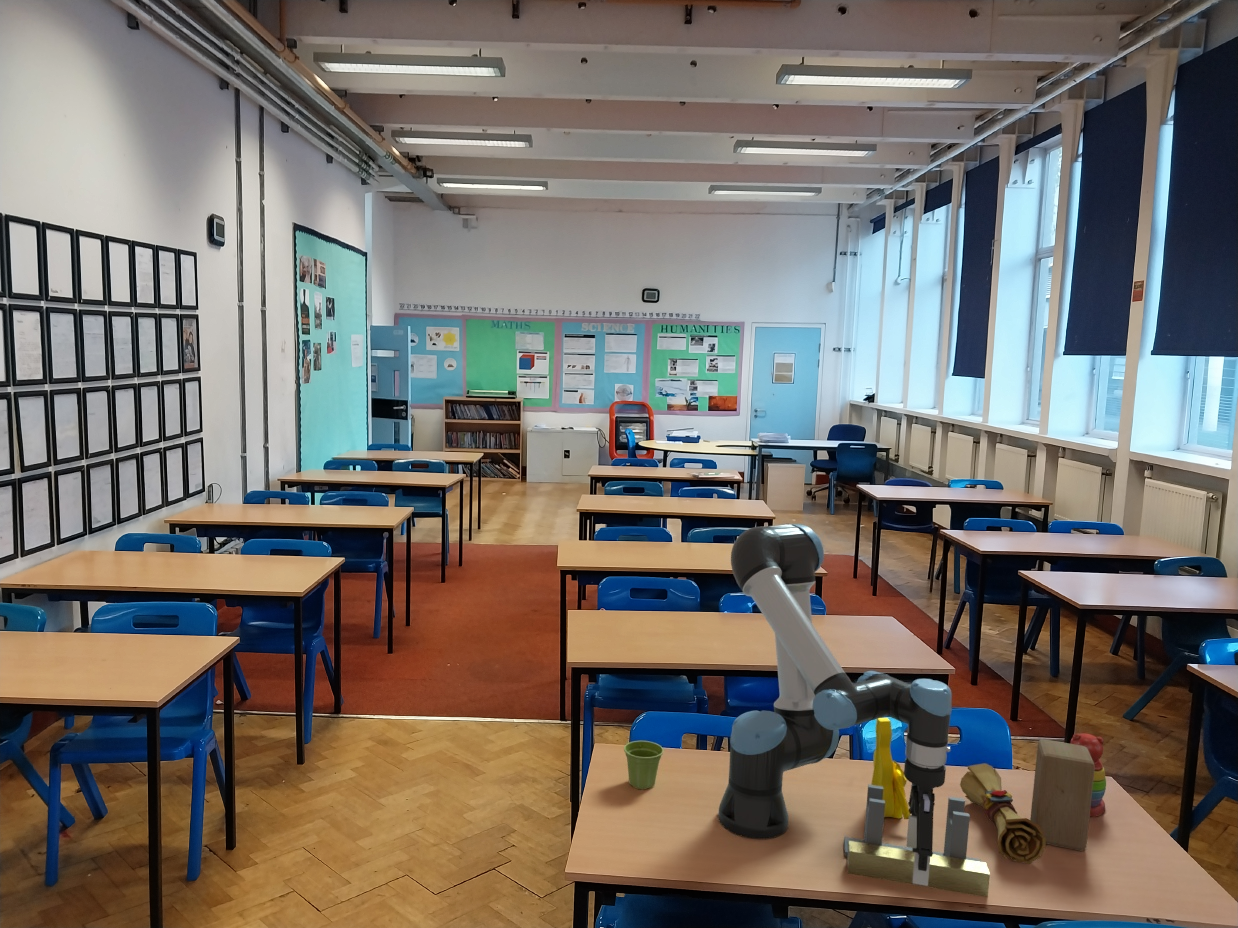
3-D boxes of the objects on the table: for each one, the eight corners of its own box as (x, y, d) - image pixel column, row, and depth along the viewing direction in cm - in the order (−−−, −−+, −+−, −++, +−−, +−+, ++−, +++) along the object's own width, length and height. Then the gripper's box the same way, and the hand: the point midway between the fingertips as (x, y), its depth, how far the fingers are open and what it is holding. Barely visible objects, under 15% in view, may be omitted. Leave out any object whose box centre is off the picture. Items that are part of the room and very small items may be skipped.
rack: (844, 857, 174) (849, 797, 173) (844, 839, 181) (848, 781, 180) (985, 882, 168) (991, 819, 167) (979, 861, 175) (985, 801, 174)
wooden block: (1034, 842, 183) (1043, 754, 181) (1029, 821, 193) (1037, 736, 191) (1086, 853, 180) (1096, 763, 178) (1078, 830, 189) (1088, 744, 187)
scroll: (1045, 868, 174) (1050, 822, 173) (997, 864, 175) (1001, 818, 174) (998, 803, 201) (1002, 762, 200) (956, 799, 202) (960, 759, 201)
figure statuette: (917, 833, 185) (926, 736, 183) (882, 832, 185) (890, 735, 183) (889, 793, 203) (896, 704, 201) (857, 792, 203) (864, 703, 200)
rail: (847, 874, 169) (849, 850, 168) (847, 863, 173) (848, 840, 172) (987, 898, 163) (989, 873, 163) (983, 886, 167) (985, 862, 166)
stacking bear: (1102, 801, 203) (1110, 730, 202) (1109, 821, 194) (1118, 747, 192) (1052, 792, 207) (1059, 721, 205) (1057, 811, 198) (1064, 737, 196)
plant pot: (624, 772, 208) (626, 738, 207) (663, 776, 206) (665, 742, 205) (619, 790, 198) (621, 755, 197) (659, 795, 197) (661, 759, 196)
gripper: (954, 792, 153) (944, 904, 155) (938, 737, 176) (929, 835, 179) (911, 786, 154) (901, 897, 157) (900, 732, 178) (892, 829, 180)
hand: (916, 864), depth 168 cm, fingers open, 12 cm apart
